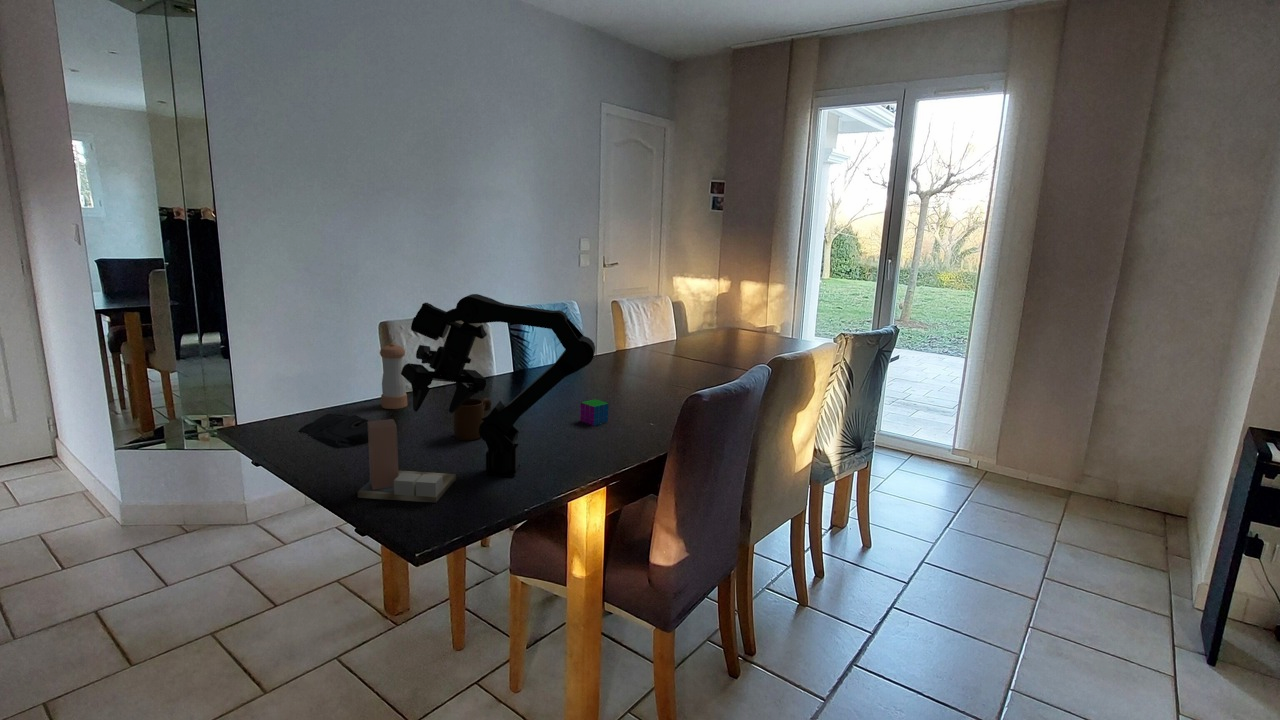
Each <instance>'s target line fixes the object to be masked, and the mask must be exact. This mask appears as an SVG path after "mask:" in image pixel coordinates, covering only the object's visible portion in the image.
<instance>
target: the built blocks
mask: <svg viewBox="0 0 1280 720" xmlns="http://www.w3.org/2000/svg"><path fill="white" fill-rule="evenodd" d="M442 489H443V475H429V474H423V475H422V476H421V474H412V473H401V474H400V475H399V476H398V477H397V478H396V479H395V480H394V494H395V495H411V496H414V495H415V494H416V496H426V497H436V496H437V495H438V494H439V493H440V492H441V491H442Z"/></svg>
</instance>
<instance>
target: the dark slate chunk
mask: <svg viewBox="0 0 1280 720" xmlns="http://www.w3.org/2000/svg"><path fill="white" fill-rule="evenodd" d="M367 421H369V419H366V418H363V417H361V416H359V415H356V414H353V415H349V414H348V415H347V414H345V413H326V414H324V415H322V416H320V417H318V418H317V419H315V420H314V421H313V422H310V423H307V424H305V425H304V426H302V427H300V428H299V430H298V432H299V431H301V432H303V433H306V434H308V435H309V436H311V437H310V438H312V437H313V438H312V439H314V438H315V439H314V440H316V439H317V441H319V440H320V441H319V442H321V441H322V442H321V443H324V444H326V443H327V445H330V446H331V445H332V447H334V448H336V449H342V448H346V449H349V448H352V447H356V446H359V445H365V444H368V423H367ZM301 432H300V433H301ZM303 433H302V434H303ZM306 434H305V435H306ZM309 436H308V437H309Z"/></svg>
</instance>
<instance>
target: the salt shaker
mask: <svg viewBox="0 0 1280 720" xmlns="http://www.w3.org/2000/svg"><path fill="white" fill-rule="evenodd" d="M379 354H380V357H382V370H383V371H382V378H381V379H382V380H381V391H382V394H381V396H380V399H381V401H380V402H381V408H383V409H385V410H400V409H402V408H407V406H408V394H407V392H406V387H407V386H406V385H407V384H406V383H407V382H406V378H405V377H404V376H402V375H401V372H402V369H403V367H404V364H403V363H404V362H403V361H404V360H403V357H404V356H405V355H406V349H404V347H403V346H400V345H397V344H395V343H394V342H391V343H389V345H385V346H383V347H381V349H380V350H379Z"/></svg>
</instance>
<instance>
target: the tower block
mask: <svg viewBox="0 0 1280 720" xmlns="http://www.w3.org/2000/svg"><path fill="white" fill-rule="evenodd" d="M367 423H368V443H367V444H368V460H369V463H368V464H369V465H368V466H369V481H370V482H371V485H372V489H373V490H375V489H382V488H389V487H394V480H395V479H396V478H397V477H398V476H399V474H398V471H399V454H398V453H399V452H398V451H399V448H398V425H397V424H396V422H395V420H394V418H390V419H389V418H388V419H379V420H368V421H367Z"/></svg>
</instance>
